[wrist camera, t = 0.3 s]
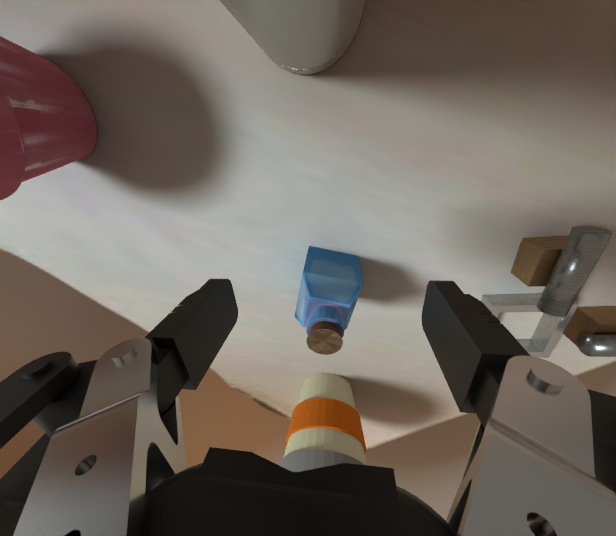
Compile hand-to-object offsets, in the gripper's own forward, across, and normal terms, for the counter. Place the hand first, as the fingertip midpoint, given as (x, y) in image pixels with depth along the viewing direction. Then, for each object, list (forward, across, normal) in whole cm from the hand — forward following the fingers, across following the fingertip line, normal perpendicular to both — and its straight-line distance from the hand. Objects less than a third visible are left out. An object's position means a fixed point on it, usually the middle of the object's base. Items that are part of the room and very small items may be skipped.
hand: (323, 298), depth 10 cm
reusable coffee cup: (+20, +2, +34) cm, 40 cm away
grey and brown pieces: (+20, -27, +12) cm, 36 cm away
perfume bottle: (+19, +1, +9) cm, 21 cm away
